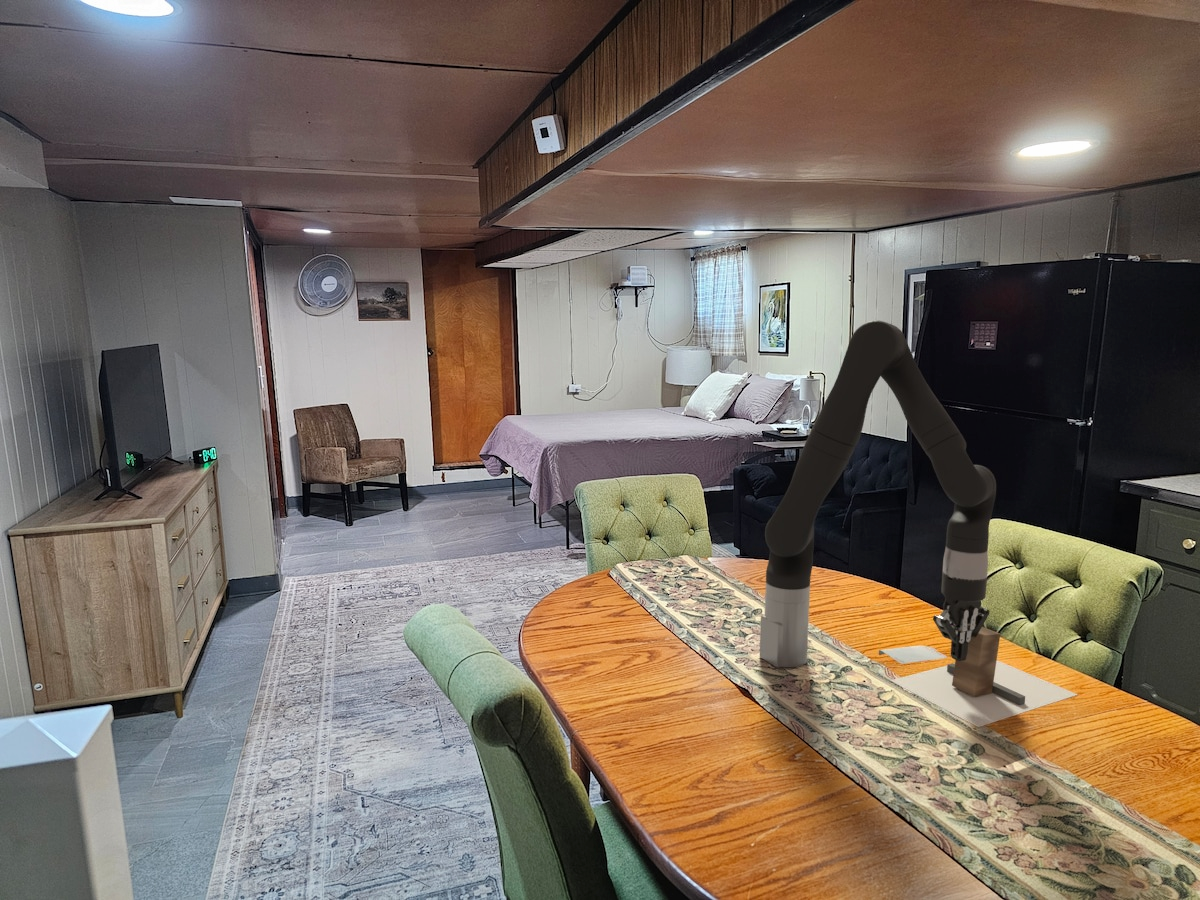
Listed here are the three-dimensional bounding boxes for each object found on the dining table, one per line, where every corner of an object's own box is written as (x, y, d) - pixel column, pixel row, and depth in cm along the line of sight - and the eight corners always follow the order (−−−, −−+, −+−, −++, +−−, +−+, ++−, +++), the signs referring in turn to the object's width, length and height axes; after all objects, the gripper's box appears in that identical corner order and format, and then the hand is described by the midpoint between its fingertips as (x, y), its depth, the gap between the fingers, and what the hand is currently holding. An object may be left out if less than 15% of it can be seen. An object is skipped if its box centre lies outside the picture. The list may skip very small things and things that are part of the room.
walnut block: (974, 696, 141) (982, 636, 140) (951, 685, 146) (959, 626, 144) (991, 693, 143) (1000, 633, 142) (969, 682, 148) (977, 624, 147)
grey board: (977, 732, 131) (978, 718, 131) (890, 685, 149) (890, 673, 149) (1077, 699, 143) (1078, 687, 143) (984, 659, 161) (985, 648, 160)
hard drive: (902, 665, 156) (952, 658, 159) (878, 649, 164) (926, 643, 167) (902, 672, 156) (952, 665, 159) (878, 656, 164) (926, 649, 167)
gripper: (971, 562, 145) (965, 646, 147) (923, 570, 139) (917, 658, 142) (1006, 572, 138) (999, 660, 141) (957, 582, 133) (950, 673, 135)
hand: (958, 659), depth 141 cm, fingers closed
